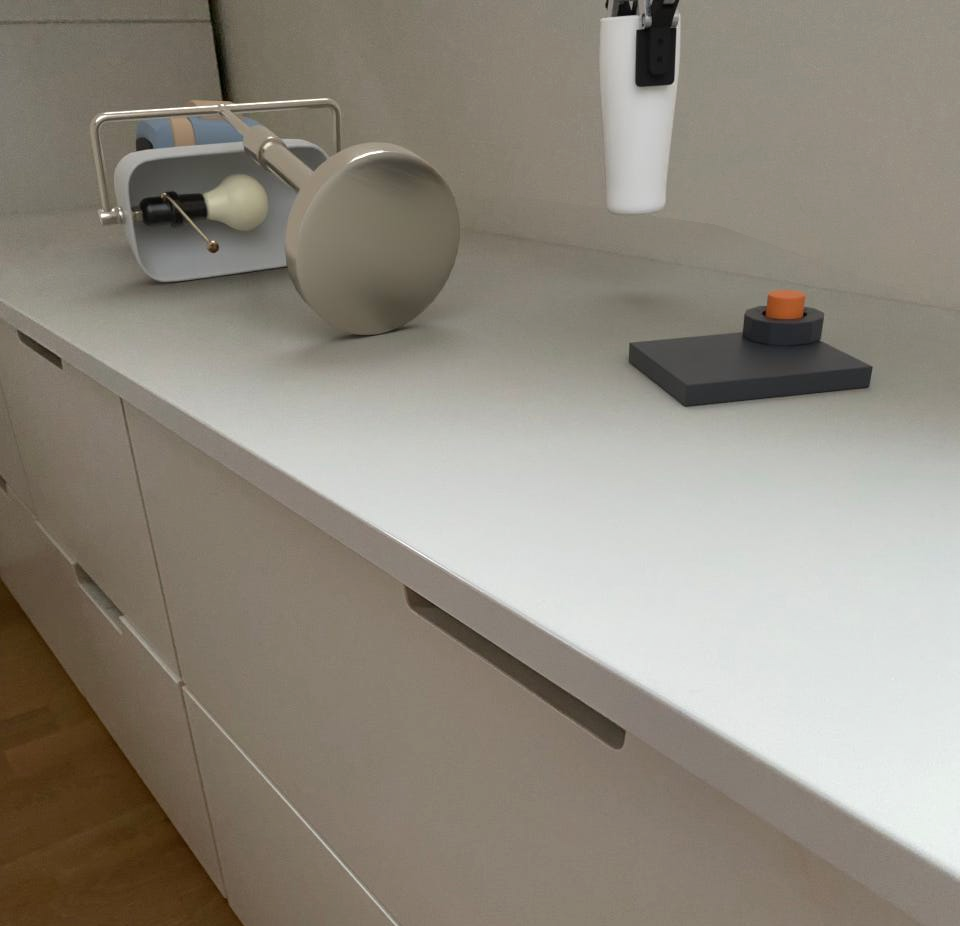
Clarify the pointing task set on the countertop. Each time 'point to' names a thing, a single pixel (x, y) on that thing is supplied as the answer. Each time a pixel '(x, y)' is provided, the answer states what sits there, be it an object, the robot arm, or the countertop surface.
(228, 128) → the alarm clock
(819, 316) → the scale
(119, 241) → the countertop surface
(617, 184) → the drinking glass
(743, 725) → the countertop surface
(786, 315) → the button
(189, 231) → the lamp
